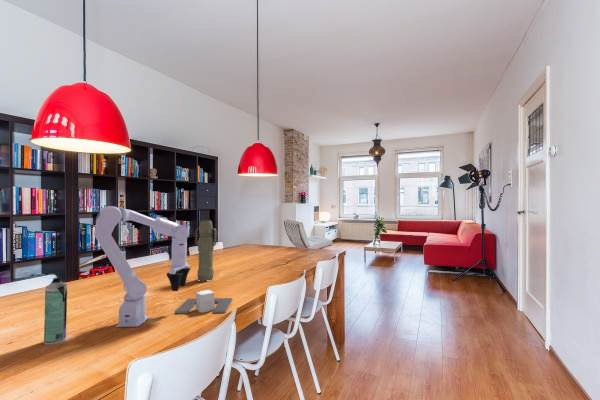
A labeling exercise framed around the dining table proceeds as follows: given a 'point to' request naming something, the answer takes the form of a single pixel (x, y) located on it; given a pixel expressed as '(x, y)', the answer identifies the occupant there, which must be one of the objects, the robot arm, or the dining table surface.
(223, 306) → the carrier plate
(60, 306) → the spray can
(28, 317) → the dining table surface
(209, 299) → the skincare box
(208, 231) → the thermos
